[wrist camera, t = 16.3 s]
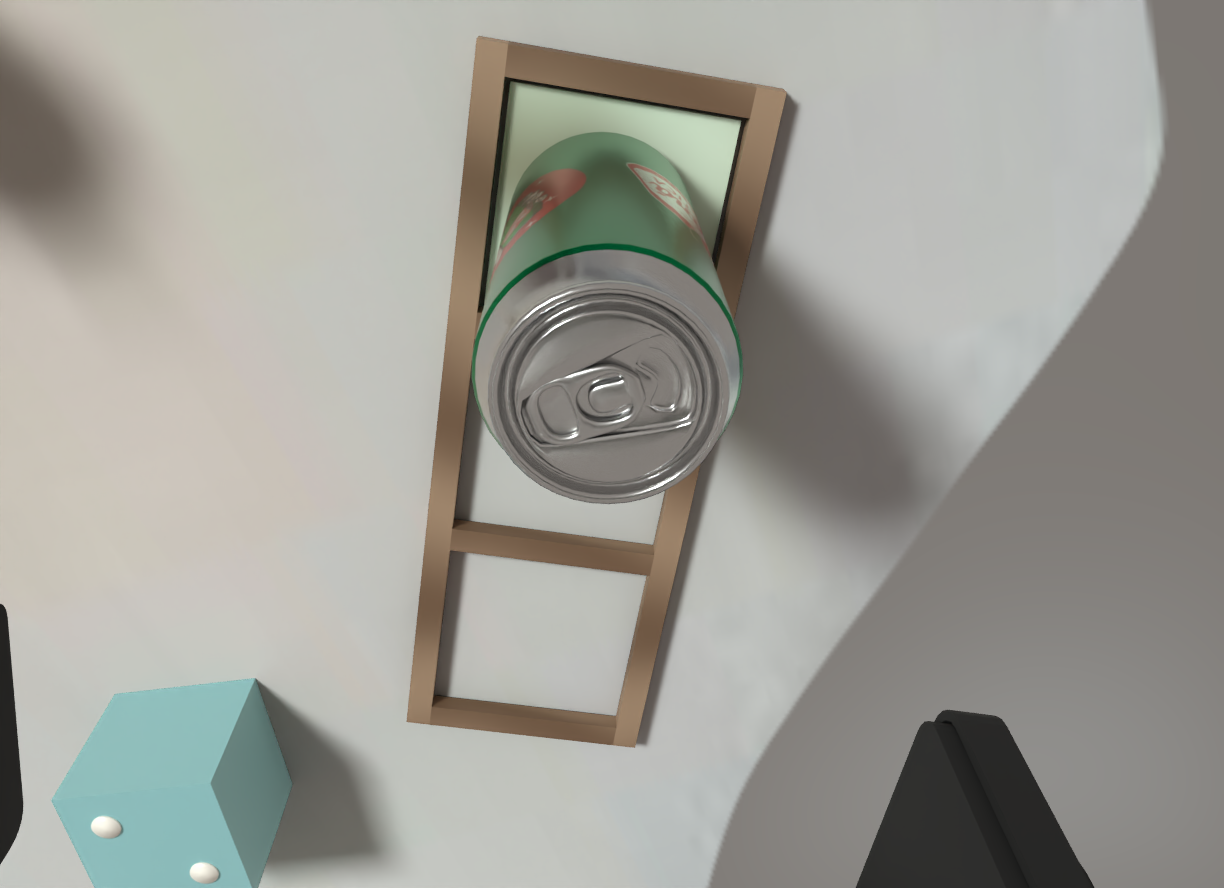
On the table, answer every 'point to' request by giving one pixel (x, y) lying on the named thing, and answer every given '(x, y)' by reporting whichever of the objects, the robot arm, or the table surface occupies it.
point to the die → (177, 789)
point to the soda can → (605, 326)
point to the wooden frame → (530, 129)
